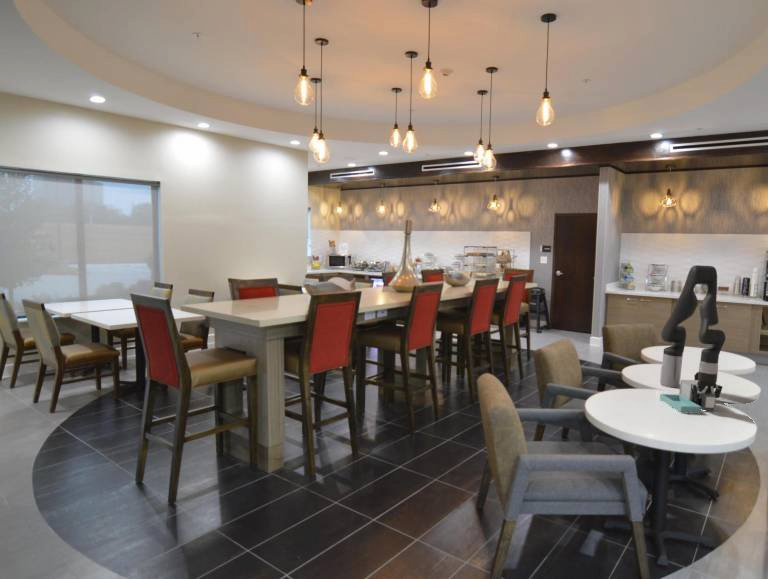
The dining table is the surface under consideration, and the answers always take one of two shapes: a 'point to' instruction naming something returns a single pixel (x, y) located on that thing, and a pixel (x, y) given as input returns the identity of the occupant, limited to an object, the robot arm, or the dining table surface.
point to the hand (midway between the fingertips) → (704, 405)
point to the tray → (680, 403)
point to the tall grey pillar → (706, 401)
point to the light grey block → (687, 388)
